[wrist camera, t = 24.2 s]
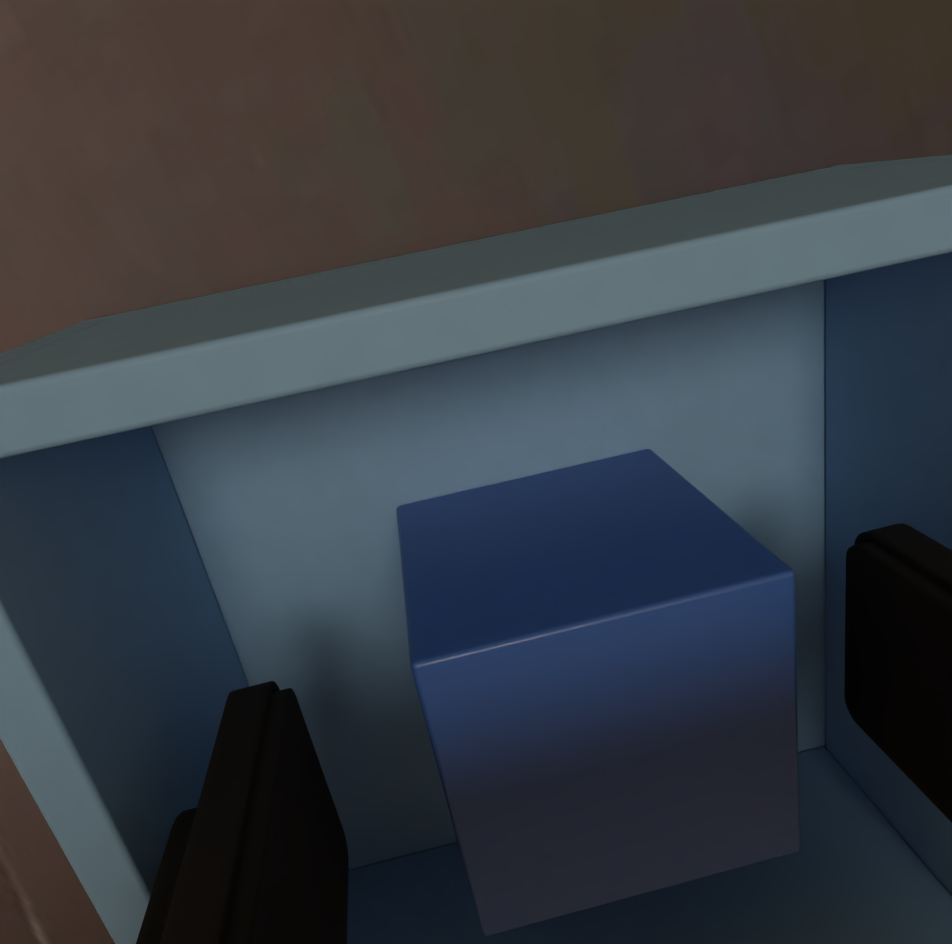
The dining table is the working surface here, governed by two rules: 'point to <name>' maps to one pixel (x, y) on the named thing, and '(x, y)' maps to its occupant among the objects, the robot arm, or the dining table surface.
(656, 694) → the blue block
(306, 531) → the blue bin
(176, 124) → the dining table surface
